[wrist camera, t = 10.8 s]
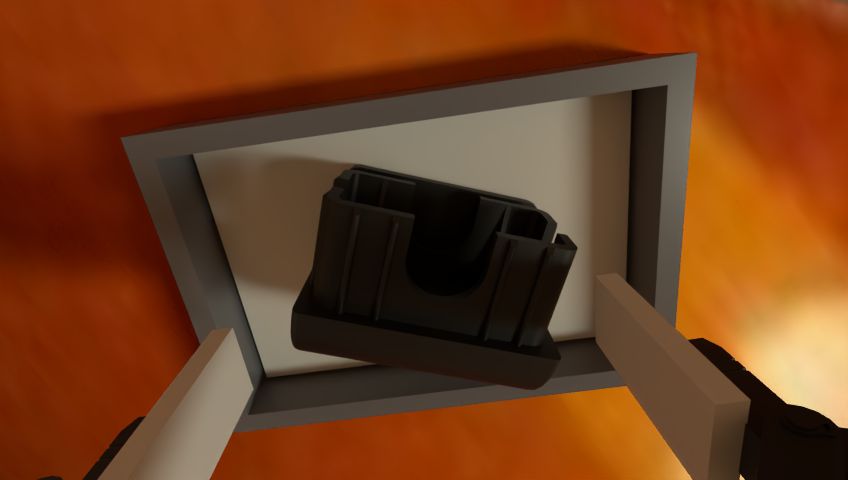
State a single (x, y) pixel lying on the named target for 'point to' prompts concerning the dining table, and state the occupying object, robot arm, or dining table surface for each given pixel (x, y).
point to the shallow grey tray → (437, 160)
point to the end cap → (433, 279)
